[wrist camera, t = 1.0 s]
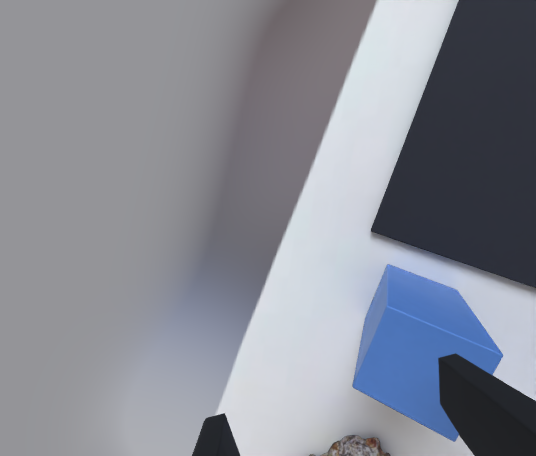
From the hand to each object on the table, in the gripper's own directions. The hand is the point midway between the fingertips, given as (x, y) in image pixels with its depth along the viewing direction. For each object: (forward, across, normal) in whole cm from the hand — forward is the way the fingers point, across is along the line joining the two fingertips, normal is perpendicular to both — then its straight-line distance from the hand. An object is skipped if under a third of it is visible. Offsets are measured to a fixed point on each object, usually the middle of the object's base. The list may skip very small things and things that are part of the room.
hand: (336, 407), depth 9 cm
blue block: (+9, -8, +4) cm, 12 cm away
